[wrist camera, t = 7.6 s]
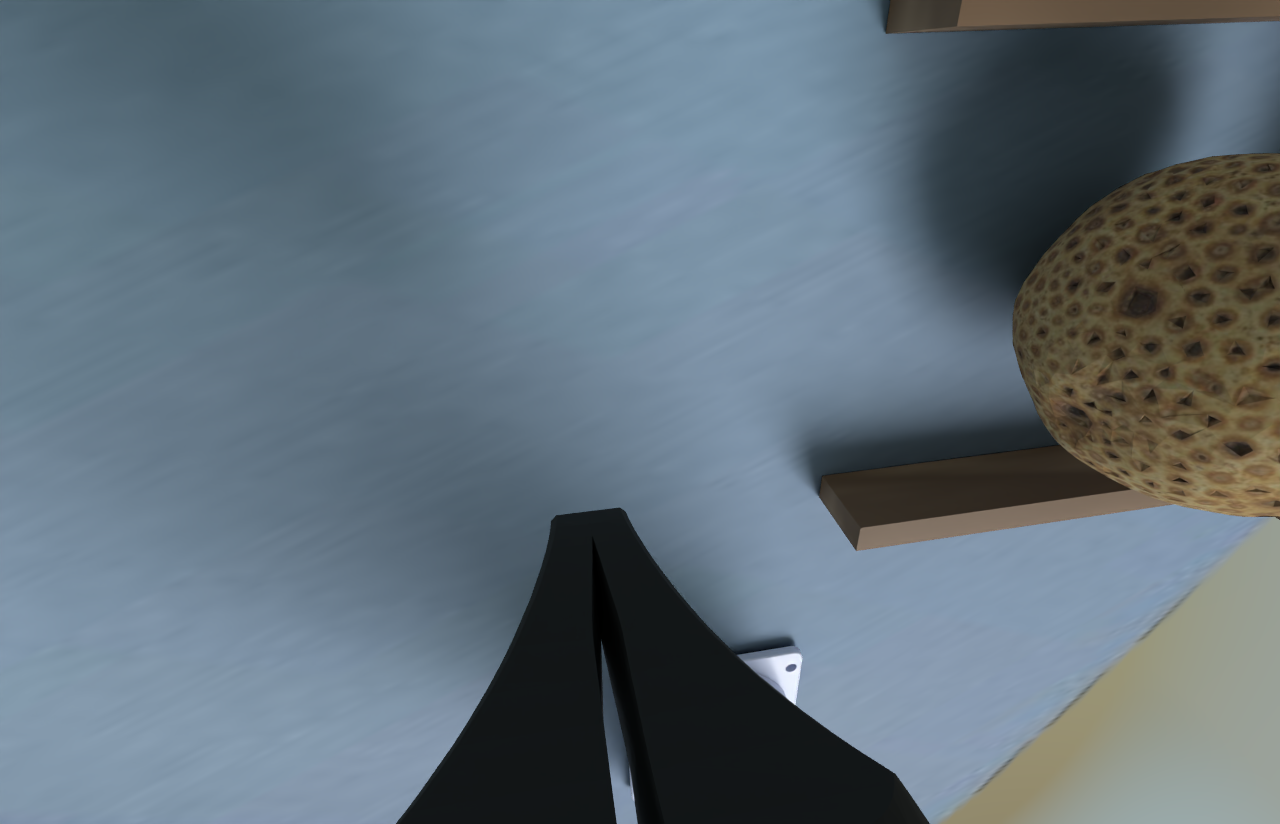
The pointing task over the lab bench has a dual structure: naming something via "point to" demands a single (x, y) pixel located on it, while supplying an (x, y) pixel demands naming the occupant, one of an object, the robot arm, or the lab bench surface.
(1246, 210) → the natural sponge
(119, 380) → the lab bench surface
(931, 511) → the wooden u-shaped fence
